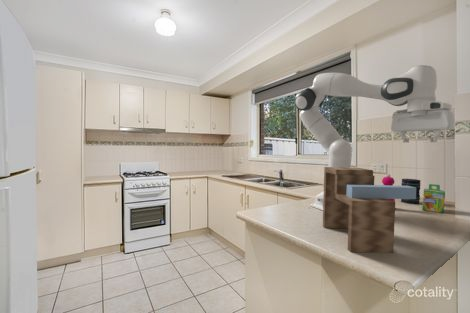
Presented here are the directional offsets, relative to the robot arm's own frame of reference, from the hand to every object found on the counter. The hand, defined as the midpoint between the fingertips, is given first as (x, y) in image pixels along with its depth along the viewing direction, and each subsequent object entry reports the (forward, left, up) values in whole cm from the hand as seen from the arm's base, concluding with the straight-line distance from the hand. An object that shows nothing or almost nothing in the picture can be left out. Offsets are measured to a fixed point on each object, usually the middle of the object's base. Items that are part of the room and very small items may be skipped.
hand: (419, 142), depth 93 cm
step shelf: (-9, -27, -37) cm, 47 cm away
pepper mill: (-28, +32, -37) cm, 57 cm away
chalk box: (-14, +52, -37) cm, 66 cm away
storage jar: (-30, +62, -37) cm, 78 cm away
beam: (0, -25, -20) cm, 32 cm away
